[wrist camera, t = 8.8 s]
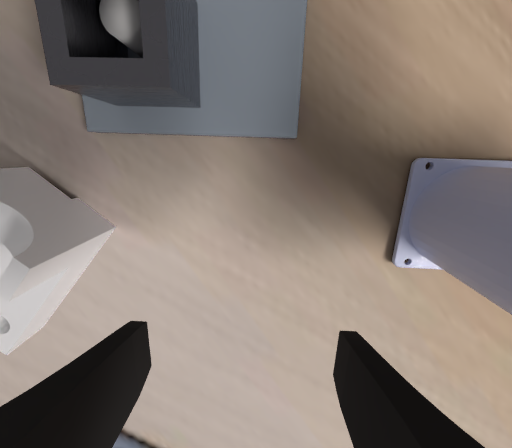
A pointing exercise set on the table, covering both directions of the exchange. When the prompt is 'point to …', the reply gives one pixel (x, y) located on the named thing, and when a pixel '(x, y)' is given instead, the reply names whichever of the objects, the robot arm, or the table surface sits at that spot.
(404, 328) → the table surface
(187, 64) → the dark grey hollow block
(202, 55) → the plate with peg
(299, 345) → the table surface
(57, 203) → the bracket
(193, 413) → the table surface
